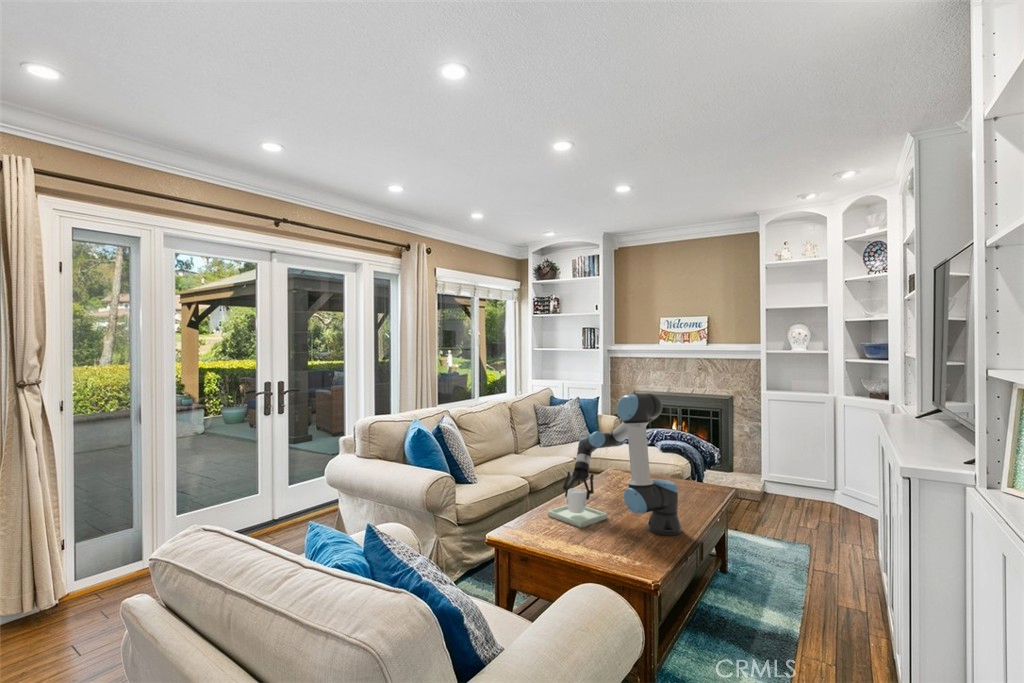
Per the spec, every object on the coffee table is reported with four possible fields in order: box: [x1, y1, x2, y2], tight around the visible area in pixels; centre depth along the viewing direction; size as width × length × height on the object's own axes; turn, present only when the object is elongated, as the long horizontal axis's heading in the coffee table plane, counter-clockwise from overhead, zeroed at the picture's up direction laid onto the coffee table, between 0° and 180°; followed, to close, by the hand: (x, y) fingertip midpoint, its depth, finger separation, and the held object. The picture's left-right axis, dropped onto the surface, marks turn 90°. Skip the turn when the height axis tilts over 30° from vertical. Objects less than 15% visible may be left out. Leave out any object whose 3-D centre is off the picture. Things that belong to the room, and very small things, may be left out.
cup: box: [568, 487, 586, 513], centre depth 257 cm, size 8×12×10 cm
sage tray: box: [547, 504, 608, 529], centre depth 257 cm, size 22×20×2 cm
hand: (575, 504), depth 254 cm, fingers closed on cup, 8 cm apart
